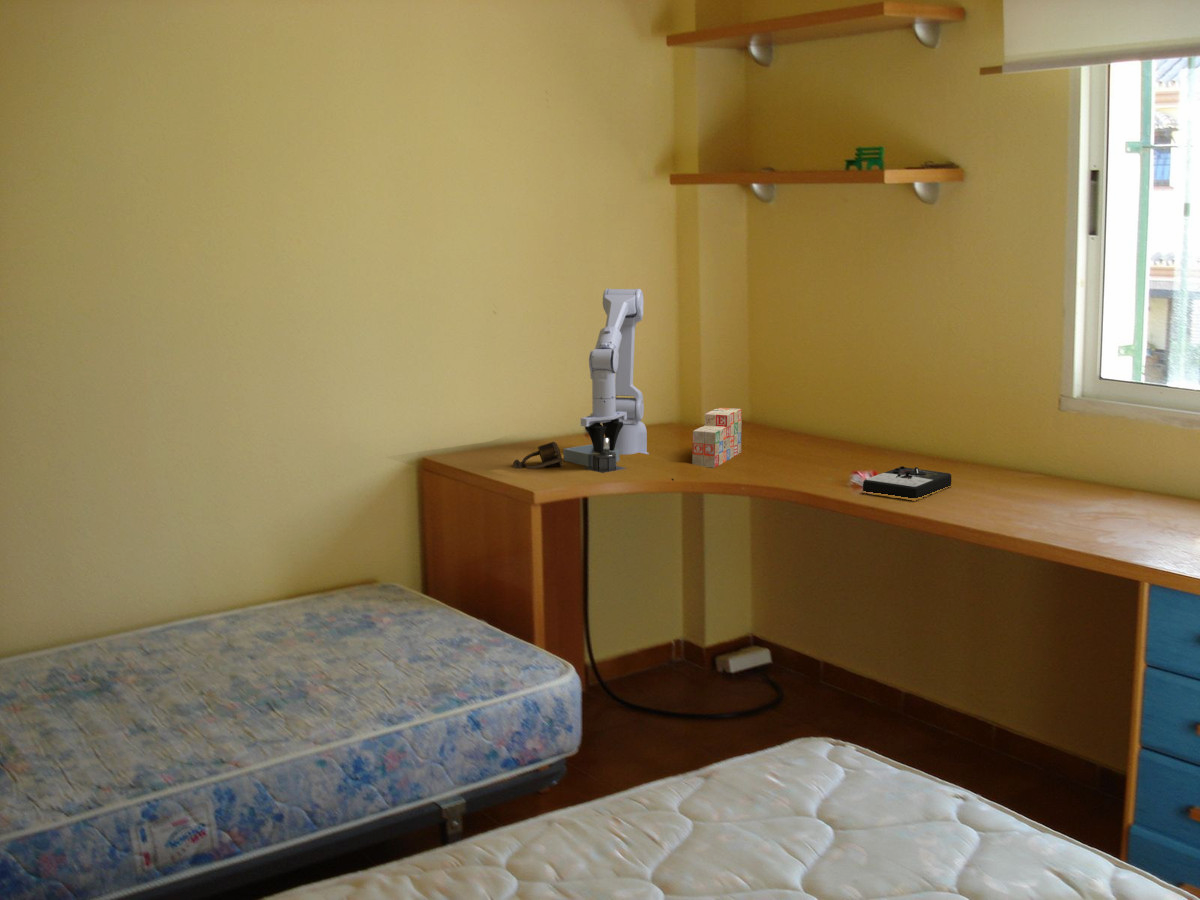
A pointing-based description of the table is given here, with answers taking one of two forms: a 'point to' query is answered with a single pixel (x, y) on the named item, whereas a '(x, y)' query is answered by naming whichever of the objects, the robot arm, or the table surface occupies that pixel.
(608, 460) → the dark grey stepped cylinder
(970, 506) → the table surface
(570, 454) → the bin
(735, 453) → the stack of blocks
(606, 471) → the stud mount
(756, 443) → the table surface
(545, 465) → the dark brown handled cylinder
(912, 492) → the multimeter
